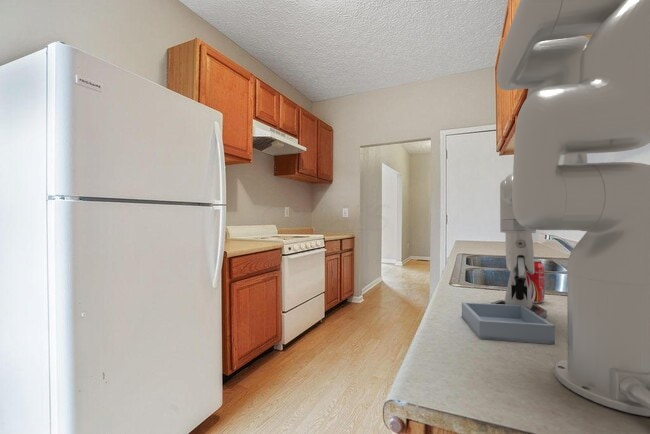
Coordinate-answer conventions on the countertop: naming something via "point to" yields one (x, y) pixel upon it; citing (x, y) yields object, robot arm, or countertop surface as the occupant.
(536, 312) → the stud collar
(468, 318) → the bin
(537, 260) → the soda can
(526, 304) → the salt shaker
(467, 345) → the countertop surface
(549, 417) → the countertop surface
